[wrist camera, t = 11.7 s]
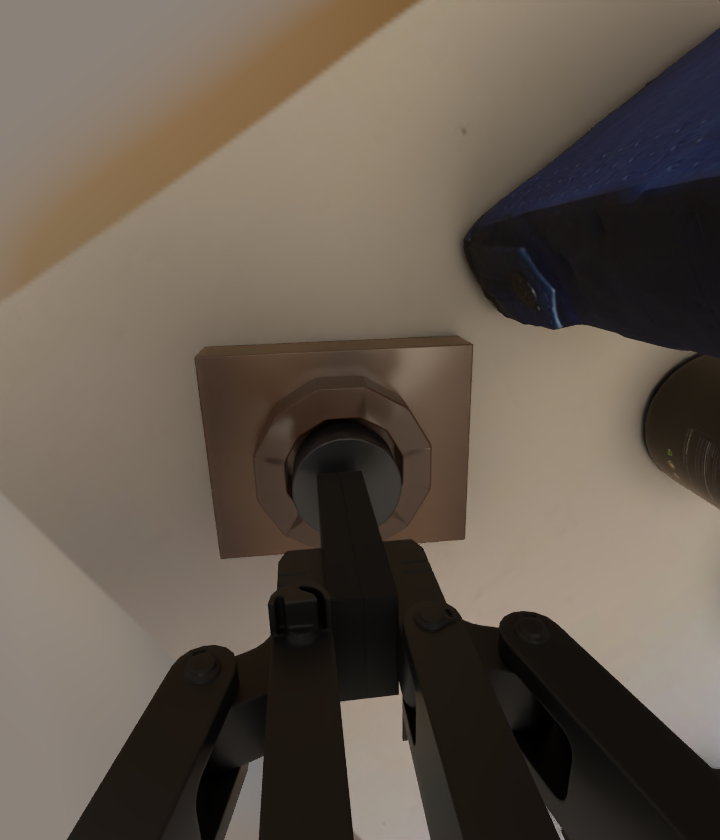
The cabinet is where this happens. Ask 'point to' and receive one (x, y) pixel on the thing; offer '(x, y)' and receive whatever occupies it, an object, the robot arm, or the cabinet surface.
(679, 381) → the supplement bottle
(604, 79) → the cabinet surface
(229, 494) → the switch block
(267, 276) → the cabinet surface
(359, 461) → the button
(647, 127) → the blue zippered case
